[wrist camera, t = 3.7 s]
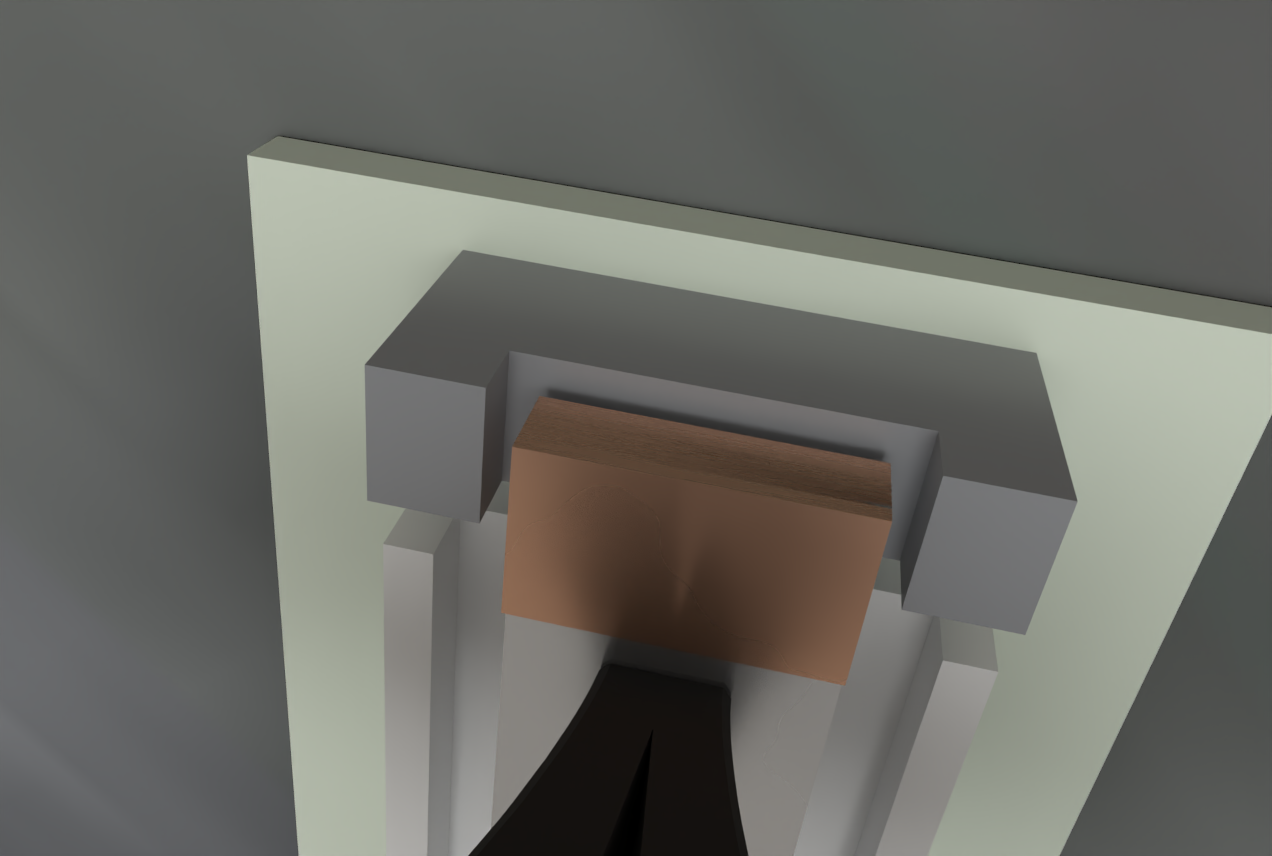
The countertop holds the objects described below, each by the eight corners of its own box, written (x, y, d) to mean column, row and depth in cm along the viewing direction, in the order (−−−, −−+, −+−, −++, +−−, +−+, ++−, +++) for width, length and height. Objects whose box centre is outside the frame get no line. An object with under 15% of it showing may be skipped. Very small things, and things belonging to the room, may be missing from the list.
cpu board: (905, 1130, 22) (910, 1363, 19) (327, 986, 23) (239, 1182, 20) (1283, 309, 13) (1425, 495, 9) (278, 136, 14) (95, 249, 11)
